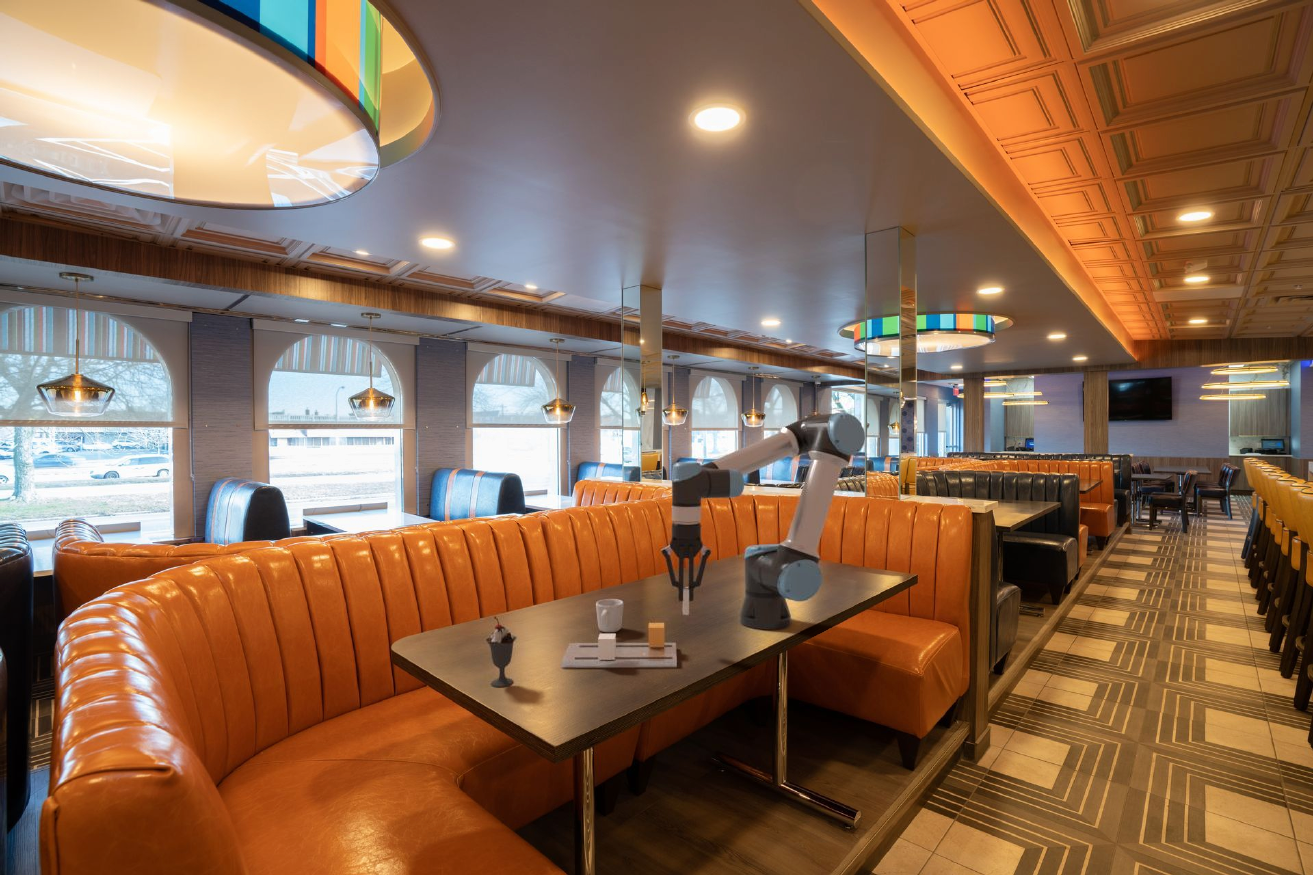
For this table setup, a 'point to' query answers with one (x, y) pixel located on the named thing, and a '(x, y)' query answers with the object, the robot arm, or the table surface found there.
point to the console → (620, 656)
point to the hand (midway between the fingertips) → (685, 613)
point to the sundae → (501, 653)
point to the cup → (609, 614)
